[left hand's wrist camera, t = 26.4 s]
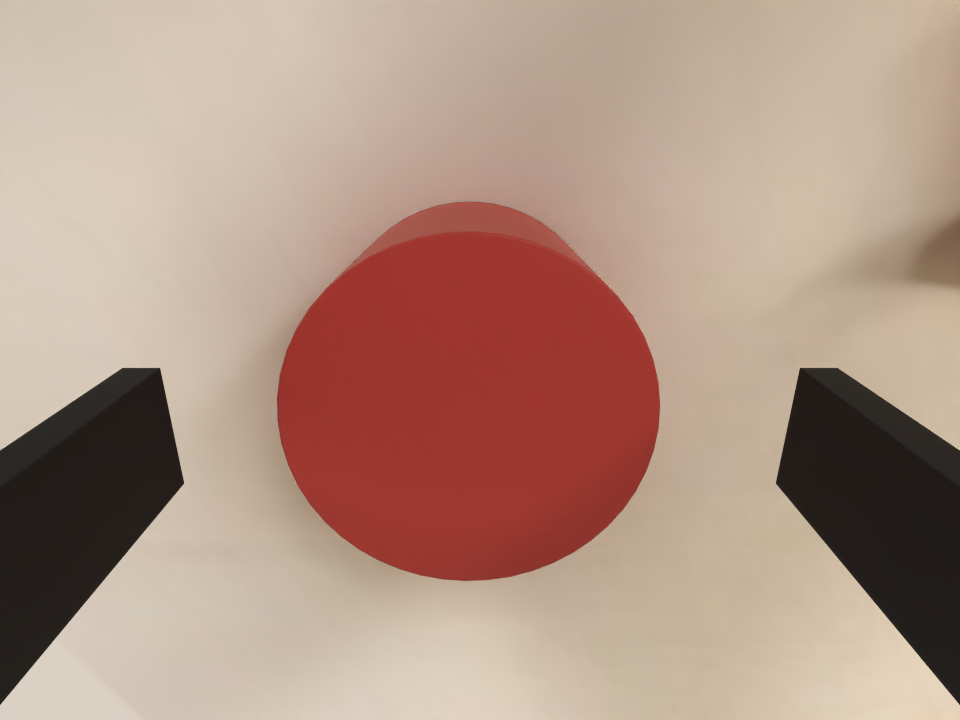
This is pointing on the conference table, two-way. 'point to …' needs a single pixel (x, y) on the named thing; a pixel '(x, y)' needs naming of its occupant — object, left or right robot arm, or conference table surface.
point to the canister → (468, 397)
